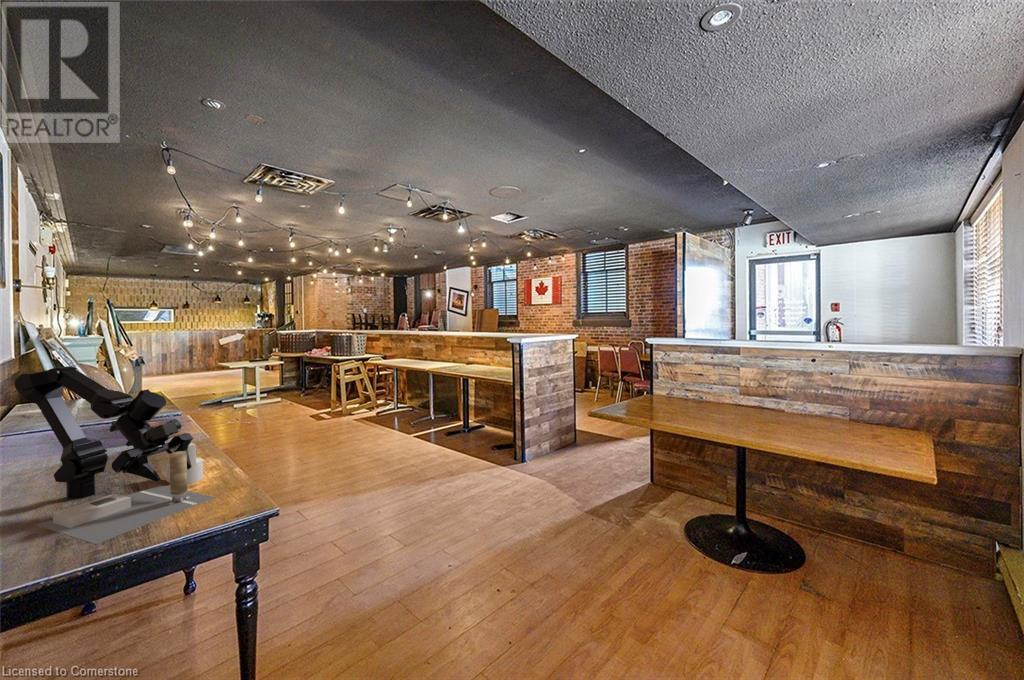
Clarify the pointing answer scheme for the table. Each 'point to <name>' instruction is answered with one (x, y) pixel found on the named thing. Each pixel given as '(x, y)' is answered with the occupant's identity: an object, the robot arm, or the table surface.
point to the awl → (178, 476)
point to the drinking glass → (195, 471)
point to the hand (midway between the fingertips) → (175, 473)
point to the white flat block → (91, 510)
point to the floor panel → (130, 515)
